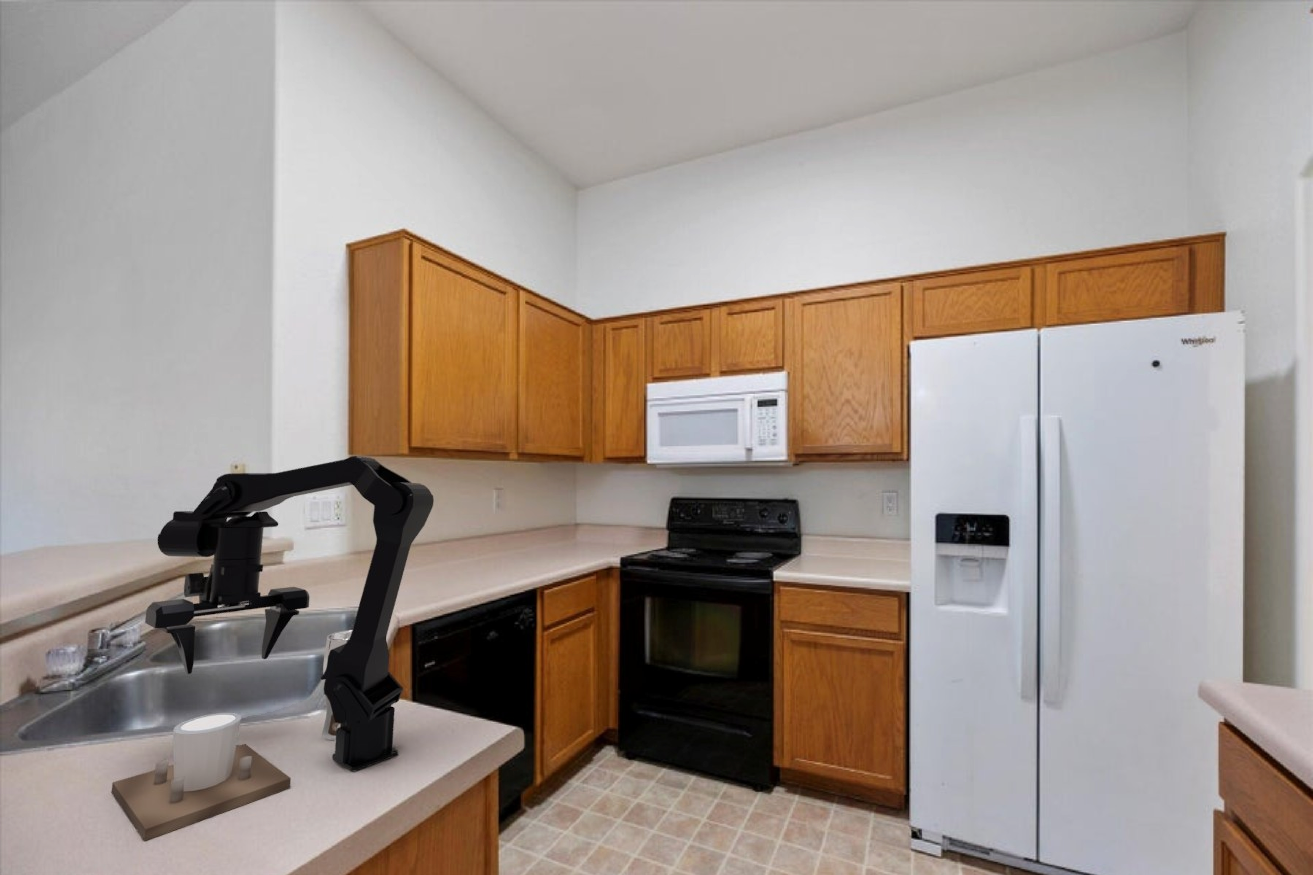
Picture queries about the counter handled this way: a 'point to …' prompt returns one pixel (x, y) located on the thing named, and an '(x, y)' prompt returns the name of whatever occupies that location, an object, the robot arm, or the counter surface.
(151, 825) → the pin board
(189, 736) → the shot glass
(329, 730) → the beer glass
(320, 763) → the counter surface
